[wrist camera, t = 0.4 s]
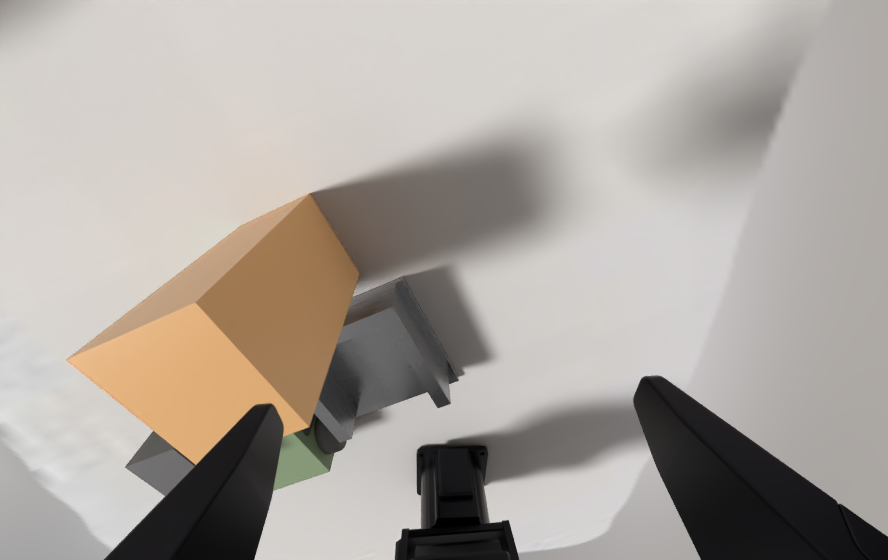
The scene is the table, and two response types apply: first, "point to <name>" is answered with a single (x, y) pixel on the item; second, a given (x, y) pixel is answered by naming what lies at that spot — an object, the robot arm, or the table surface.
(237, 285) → the tan rectangular block
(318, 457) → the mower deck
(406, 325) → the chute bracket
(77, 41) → the table surface
